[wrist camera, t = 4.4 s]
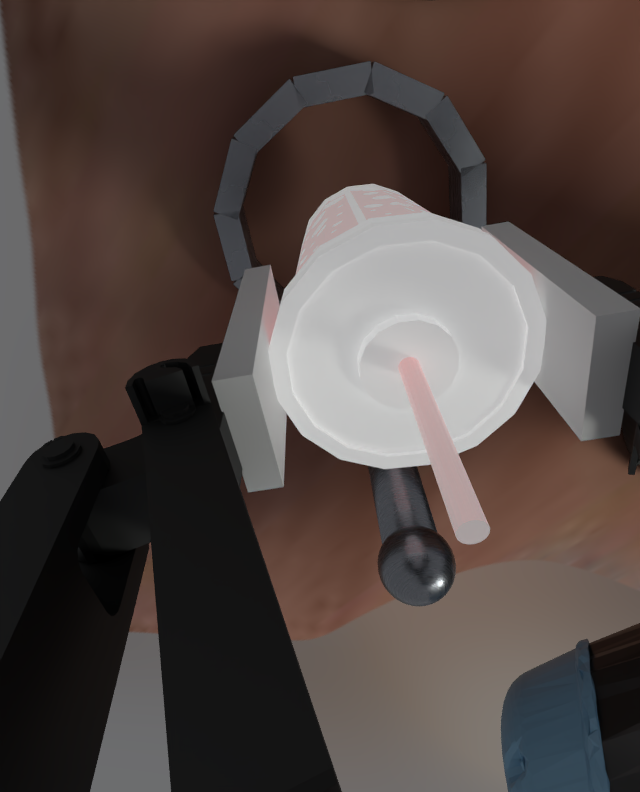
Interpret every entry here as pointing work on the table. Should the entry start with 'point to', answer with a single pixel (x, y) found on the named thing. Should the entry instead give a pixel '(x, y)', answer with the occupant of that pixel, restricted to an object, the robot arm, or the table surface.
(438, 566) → the ring stand
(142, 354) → the table surface
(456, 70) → the table surface
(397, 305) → the beverage cup
